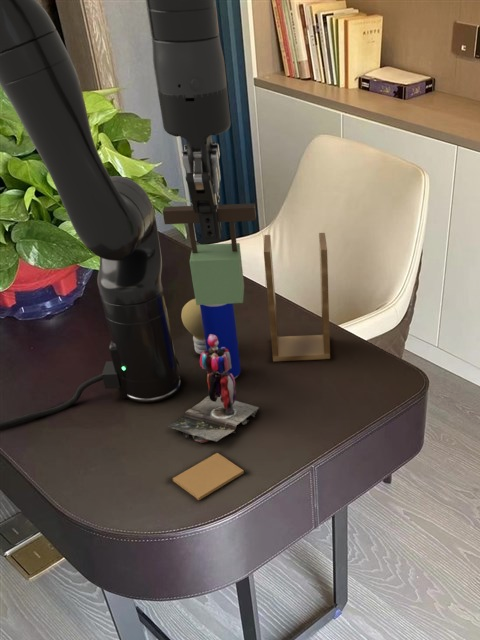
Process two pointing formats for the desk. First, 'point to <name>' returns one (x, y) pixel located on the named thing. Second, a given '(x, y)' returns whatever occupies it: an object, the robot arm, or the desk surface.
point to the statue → (215, 400)
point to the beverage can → (222, 331)
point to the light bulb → (194, 324)
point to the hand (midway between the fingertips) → (212, 237)
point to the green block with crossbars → (215, 255)
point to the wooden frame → (298, 345)
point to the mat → (208, 476)
